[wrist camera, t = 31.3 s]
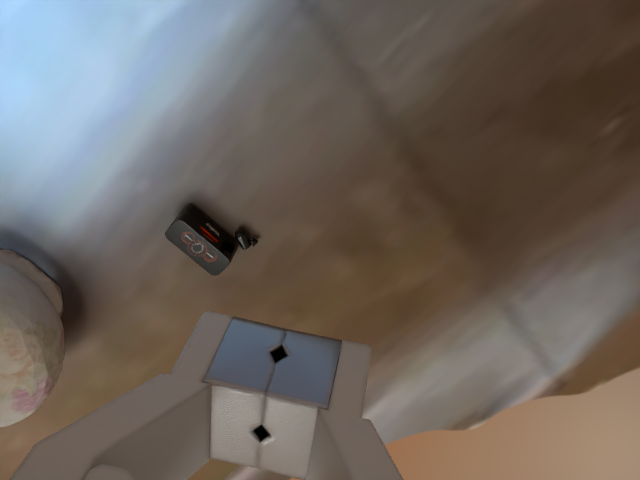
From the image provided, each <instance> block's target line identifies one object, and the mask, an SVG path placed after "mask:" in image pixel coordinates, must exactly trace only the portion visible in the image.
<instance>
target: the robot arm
mask: <svg viewBox="0 0 640 480" xmlns="http://www.w3.org/2000/svg"><path fill="white" fill-rule="evenodd" d="M341 345H342V346H341ZM340 350H341V351H340ZM371 351H372V349H371V346H370V345H365V344H360V343H355V342H350V341H345V340H343V343H342V340H339V339H334V338H329V337H324V336H319V335H314V334H309V333H305V332H300V331H295V330H290V329H285V328H281V327H276V326H272V325H268V324H264V323H260V322H256V321H251V320H247V319H243V318H239V317H232V316H228V315H224V314H219V313H215V312H211V311H206V312H205V313H204V314H203V315H202V316H201V318H200V320H199V322H198V323H197V325H196V327H195V329H194V331H193V333H192V335H191V336H190V338H189V340H188V342H187V344H186V346H185V348H184V350H183V351H182V353H181V355H180V357H179V359H178V361H177V363H176V365H175V366H174V368H173V370H172V372H171V374H170V375H168V374H163V373H161V374H159V375H158V376H156V377H154V378H152V379H151V380H149V381H147V382H145V383H143V384H142V385H140V386H138V387H136V388H135V389H133V390H131V391H129V392H127V393H126V394H124V395H122V396H120V397H118V398H117V399H115V400H113V401H111V402H110V403H108V404H106V405H104V406H102V407H101V408H99V409H97V410H95V411H93V412H92V413H90V414H88V415H86V416H85V417H83V418H81V419H79V420H77V421H76V422H74V423H72V424H70V425H69V426H67V427H65V428H63V429H61V430H60V431H58V432H56V433H54V434H52V435H51V436H49V437H47V438H45V439H44V440H42V441H40V442H38V443H36V444H35V445H34V446H33V448H32V449H31V450H30V452H29V453H28V455H27V456H26V457H25V459H24V460H23V462H22V463H21V465H20V466H19V467H18V469H17V470H16V472H15V473H14V474H13V476H12V477H11V479H10V480H187V479H188V478H189V477H191V476H192V475H193V474H194V473H195V472H196V471H198V470H199V469H200V468H201V467H202V466H203V465H205V464H206V463H207V462H208V461H209V458H211V459H216V460H221V461H226V462H231V463H236V464H240V465H245V466H250V467H255V468H259V469H263V470H267V471H271V472H274V473H278V474H282V475H286V476H290V477H294V478H297V479H301V480H403V478H402V476H401V474H400V473H399V471H398V469H397V467H396V465H395V464H394V462H393V460H392V458H391V456H390V455H389V453H388V451H387V449H386V447H385V446H384V444H383V442H382V440H381V438H380V437H379V435H378V433H377V431H376V429H375V428H374V426H373V424H372V422H371V421H370V420H368V419H364V418H362V412H363V406H364V399H365V392H366V385H367V378H368V372H369V365H370V358H371ZM339 355H340V356H339Z"/></svg>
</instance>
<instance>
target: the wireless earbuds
mask: <svg viewBox="0 0 640 480" xmlns="http://www.w3.org/2000/svg"><path fill="white" fill-rule="evenodd" d="M165 236H166V238H167V239H168V240H169V241H171V242H172V243H173V244H174V245H176V246H177V247H178V248H179V249H180V250H182V251H183V252H184V253H185V254H187V255H188V256H189V257H190V258H191V259H193V260H194V261H195V262H196V263H198V264H199V265H200V266H201V267H202V268H204V269H205V270H206V271H207V272H209V273H210V274H211V275H218V274H220V273H221V272H222V271H223V270H224V269H225V268H226V267H227V266H228V265H229V264H230V262H231V260H232V258H233V256H234V255H235V253H236V251H237V248H238V244H237V243H236V241H234V240H233V239H232V238H231V237H230V236H229V235H227V234H226V233H225V232H224V231H223V230H221V229H220V228H219V227H218V226H217V225H216V224H214V223H213V222H212V221H211V220H210V219H209V218H207V217H206V216H205V215H204V214H203V213H201V212H200V211H199V210H198V209H197V208H196V207H194V206H187V207H186V208H185V209H184V210H183V211H182V212H181V213H180V214H179V215H178V216H177V217H176V219H175V220H174V221H173V223H172V224H171V225H170V227H169V228H168V229H167V231H166V232H165ZM235 238H236V240H237V242H238V243H239V244H240V246H241V247H242V249H247V248H249V247H250V246H251V244H252V243H253V246H254V245H256V244H257V243H258V240H256V239H255V238H253V240H252V239H251V240H250V238H249V237H248V236H247V234H246V233H245V232H244V231H243V230H237V231H236V232H235Z"/></svg>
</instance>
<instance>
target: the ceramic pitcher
mask: <svg viewBox="0 0 640 480" xmlns="http://www.w3.org/2000/svg"><path fill="white" fill-rule="evenodd" d="M62 313H63V300H62V293H61V287H60V286H58V285H57V284H56V283H55V282H53V281H52V280H51V279H50V278H49V277H48V276H47V275H45V274H44V273H43V272H42V271H41V270H40V269H38V268H37V267H36V266H35V265H34V264H33V263H31V262H30V261H28V260H27V259H25V258H23V257H22V256H20V255H18V254H17V253H15V252H14V251H12V250H0V427H6V426H9V425H11V424H14V423H16V422H18V421H20V420H23V419H24V418H26V417H27V416H29V415H30V414H32V413H33V412H35V411H36V410H37V409H38V408H39V407H40V406H41V405H42V403H43V402H44V401H45V400H46V398H47V397H48V396H49V394H50V393H51V391H52V389H53V387H54V386H55V384H56V382H57V380H58V377H59V374H60V372H61V369H62V365H63V360H64V355H65V338H64V329H63V326H62V322H61V320H60V317H61V315H62Z"/></svg>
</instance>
